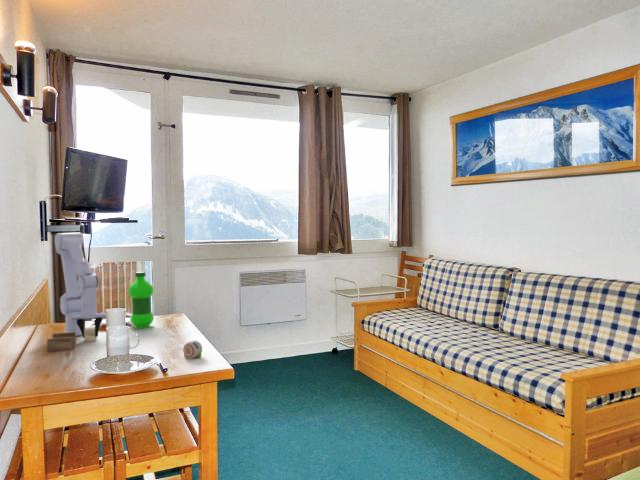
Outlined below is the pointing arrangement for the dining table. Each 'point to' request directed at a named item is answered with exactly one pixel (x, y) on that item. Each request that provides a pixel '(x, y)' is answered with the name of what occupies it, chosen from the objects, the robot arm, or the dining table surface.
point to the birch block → (89, 334)
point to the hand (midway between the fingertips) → (90, 336)
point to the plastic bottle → (141, 301)
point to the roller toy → (192, 349)
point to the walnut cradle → (61, 341)
